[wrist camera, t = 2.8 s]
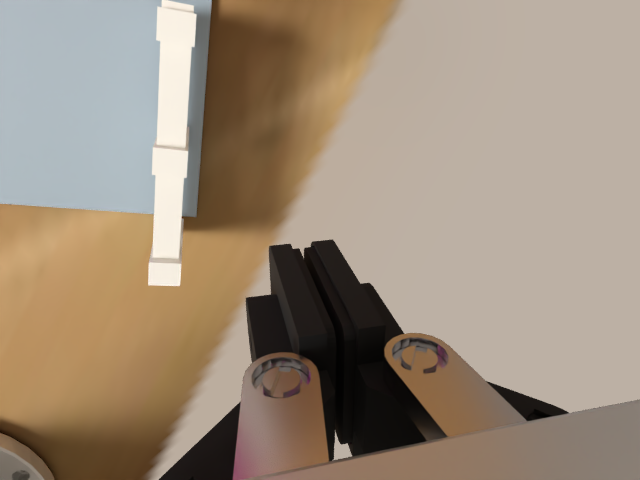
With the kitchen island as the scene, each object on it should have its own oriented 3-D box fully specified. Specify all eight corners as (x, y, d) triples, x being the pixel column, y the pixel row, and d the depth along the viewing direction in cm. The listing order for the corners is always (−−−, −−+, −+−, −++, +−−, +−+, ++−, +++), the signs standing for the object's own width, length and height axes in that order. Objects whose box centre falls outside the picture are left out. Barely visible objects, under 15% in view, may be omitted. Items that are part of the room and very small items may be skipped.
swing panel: (165, 6, 19) (157, -3, 14) (196, 12, 19) (197, 5, 15) (157, 236, 23) (148, 285, 18) (182, 237, 23) (180, 285, 18)
